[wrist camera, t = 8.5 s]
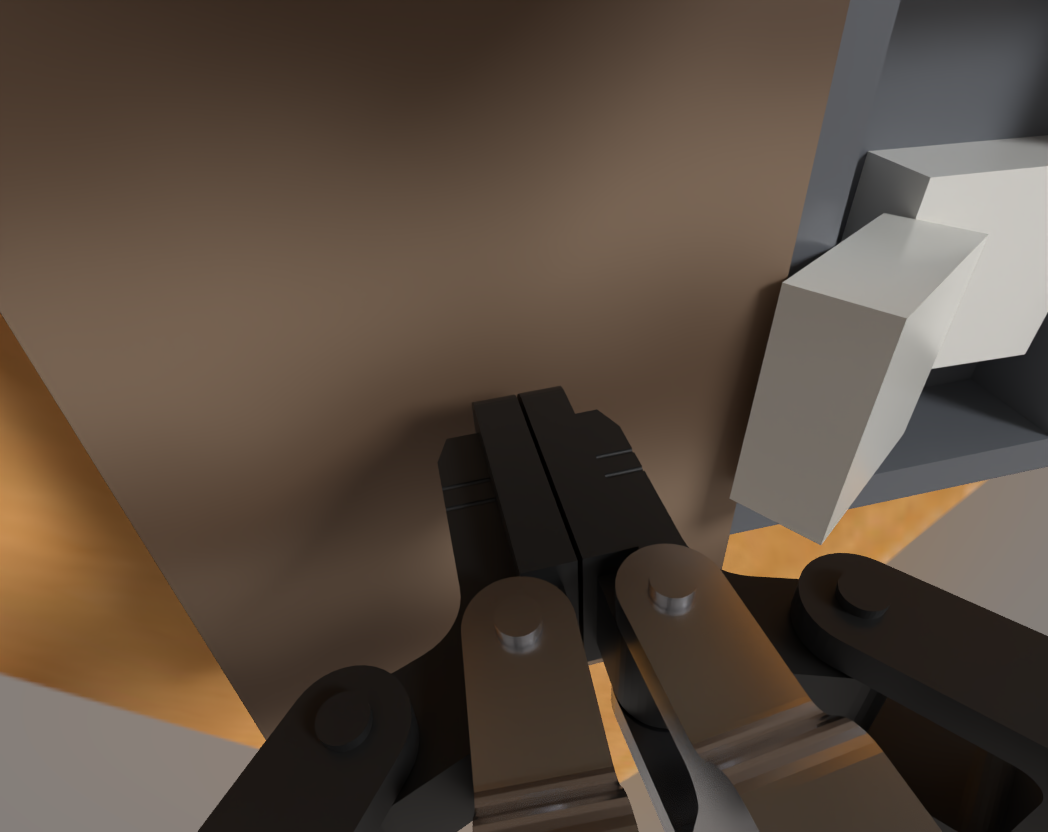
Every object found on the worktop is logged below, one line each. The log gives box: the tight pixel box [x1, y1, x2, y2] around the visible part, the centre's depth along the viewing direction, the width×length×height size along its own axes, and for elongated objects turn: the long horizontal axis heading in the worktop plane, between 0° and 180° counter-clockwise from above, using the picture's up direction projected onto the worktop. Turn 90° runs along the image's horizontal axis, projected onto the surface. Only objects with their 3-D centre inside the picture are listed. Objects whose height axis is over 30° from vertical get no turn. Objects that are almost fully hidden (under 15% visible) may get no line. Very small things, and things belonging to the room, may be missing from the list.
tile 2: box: [841, 135, 1048, 369], centre depth 16 cm, size 5×5×2 cm
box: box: [730, 0, 1048, 534], centre depth 15 cm, size 14×11×4 cm
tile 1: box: [729, 213, 989, 545], centre depth 13 cm, size 5×5×2 cm
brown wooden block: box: [0, 0, 850, 740], centre depth 13 cm, size 18×12×4 cm, turn 3°
